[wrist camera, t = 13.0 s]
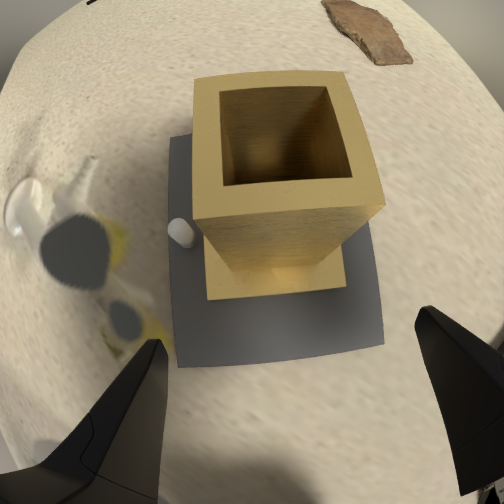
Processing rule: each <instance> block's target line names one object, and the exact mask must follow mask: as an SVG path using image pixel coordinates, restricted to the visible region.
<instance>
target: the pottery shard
mask: <svg viewBox="0 0 504 504" xmlns="http://www.w3.org/2000/svg"><path fill="white" fill-rule="evenodd" d="M322 5H323V6H324V7H325V8H326V9H327V12H328V13H329V14H330V16H331V17H332V19H333V21H334V23H335V24H336V26H337V27H338V29H339V30H340V31H342V32H345V33H346V34H347V35H348V36H349V37H350V38H351V39H352V40H353V42H355V44H356V45H357V46H358V47H360V48H361V50H362V51H364V52H365V55H366V56H367V58H368V59H369V60H371V61H372V62H374V63H375V65H378V66H386V65H401V64H412V63H413V59H412V57H411V56H410V54H409V53H408V52H407V51H406V50H405V49H404V46H403V43H402V41H401V39H400V38H399V36H398V34H397V33H396V31H395V29H393V25H392V23H391V22H390V21H389V19H388V18H387V17H384V16H383V15H382V14H380V13H379V12H378V11H377V10H374V9H371V8H367V7H363V6H361V5H359V4H357V3H355V2H353V1H351V0H323V1H322Z"/></svg>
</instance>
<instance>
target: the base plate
mask: <svg viewBox="0 0 504 504" xmlns="http://www.w3.org/2000/svg"><path fill="white" fill-rule="evenodd" d="M192 136H193V134H189V135H183V136H177V137H172V138H170V154H169V190H168V229H167V230H168V234H169V263H170V284H171V300H172V313H173V325H174V336H175V346H176V355H177V364H178V368H186V367H216V366H234V365H247V364H259V363H269V362H279V361H288V360H296V359H303V358H310V357H317V356H324V355H330V354H336V353H342V352H347V351H353V350H358V349H363V348H368V347H373V346H377V345H382V344H384V331H383V319H382V309H381V300H380V292H379V284H378V276H377V269H376V263H375V257H374V251H373V245H372V239H371V234H370V228H369V223H368V221H367V222H366V223H365V224H364V225H363V226H362V227H360V228H359V229H358V230H357V231H356V232H355V233H354V234H352V235H351V236H350V237H349V238H348V239H347V240H346V241H344V242H343V243H342V244H341V250H342V257H343V264H344V271H345V279H346V287H343V288H337V289H328V290H320V291H311V292H302V293H293V294H283V295H273V296H262V297H251V298H240V299H227V300H214V301H209V300H207V286H206V270H205V253H204V234H203V233H202V231H201V230H200V229H199V227H198V226H197V224H196V223H195V222H194V220H193V201H192Z"/></svg>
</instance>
